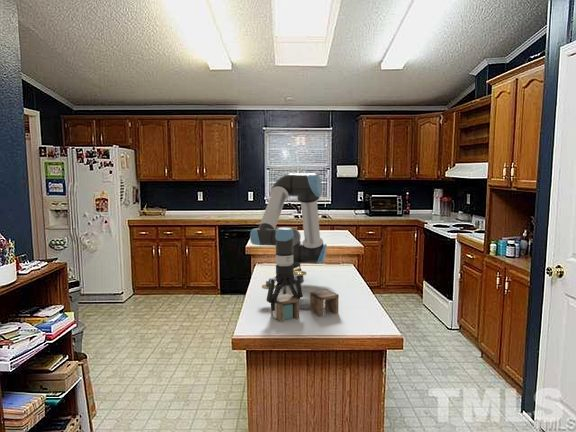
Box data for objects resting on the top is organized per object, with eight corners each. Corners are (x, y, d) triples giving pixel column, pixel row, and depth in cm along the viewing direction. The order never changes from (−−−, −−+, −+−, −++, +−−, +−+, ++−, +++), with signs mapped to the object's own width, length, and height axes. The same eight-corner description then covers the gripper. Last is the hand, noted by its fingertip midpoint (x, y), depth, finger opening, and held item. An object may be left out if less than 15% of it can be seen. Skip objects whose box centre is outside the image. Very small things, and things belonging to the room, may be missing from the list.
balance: (259, 301, 192) (258, 270, 190) (301, 294, 203) (301, 264, 201) (266, 306, 185) (265, 273, 183) (309, 298, 196) (309, 267, 194)
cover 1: (271, 315, 174) (270, 296, 173) (289, 311, 178) (289, 293, 177) (280, 322, 166) (280, 302, 165) (299, 318, 170) (299, 298, 169)
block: (277, 316, 173) (277, 302, 172) (287, 314, 175) (287, 300, 174) (282, 319, 168) (282, 306, 168) (292, 317, 171) (292, 304, 170)
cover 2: (310, 310, 179) (310, 292, 178) (327, 307, 183) (327, 289, 182) (321, 316, 171) (321, 297, 170) (338, 313, 175) (338, 294, 174)
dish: (287, 303, 189) (287, 301, 189) (309, 299, 194) (309, 297, 194) (299, 311, 178) (299, 308, 178) (322, 306, 184) (322, 304, 184)
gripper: (264, 269, 161) (265, 322, 163) (311, 263, 171) (311, 314, 173) (257, 265, 167) (258, 317, 170) (302, 259, 177) (302, 308, 180)
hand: (285, 315), depth 172 cm, fingers closed on cover 1, 9 cm apart
